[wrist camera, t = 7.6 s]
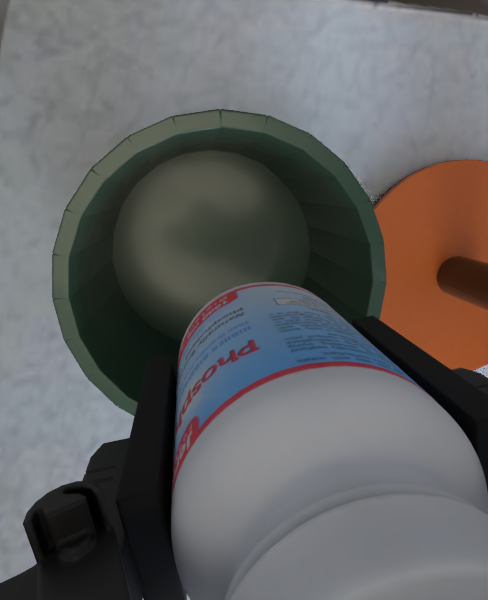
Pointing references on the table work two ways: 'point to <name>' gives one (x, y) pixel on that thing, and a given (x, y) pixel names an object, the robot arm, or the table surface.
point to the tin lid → (439, 261)
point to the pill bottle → (315, 463)
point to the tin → (205, 237)
